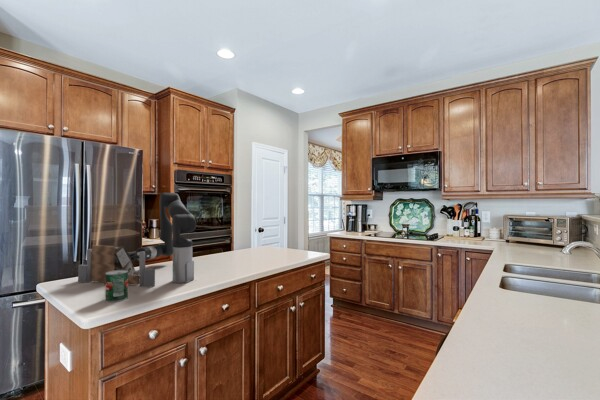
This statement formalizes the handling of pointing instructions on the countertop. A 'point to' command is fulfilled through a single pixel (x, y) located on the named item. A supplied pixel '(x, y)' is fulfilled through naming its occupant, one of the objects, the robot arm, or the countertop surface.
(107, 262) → the gate
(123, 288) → the canned tomato
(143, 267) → the fence
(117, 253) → the coffee box
